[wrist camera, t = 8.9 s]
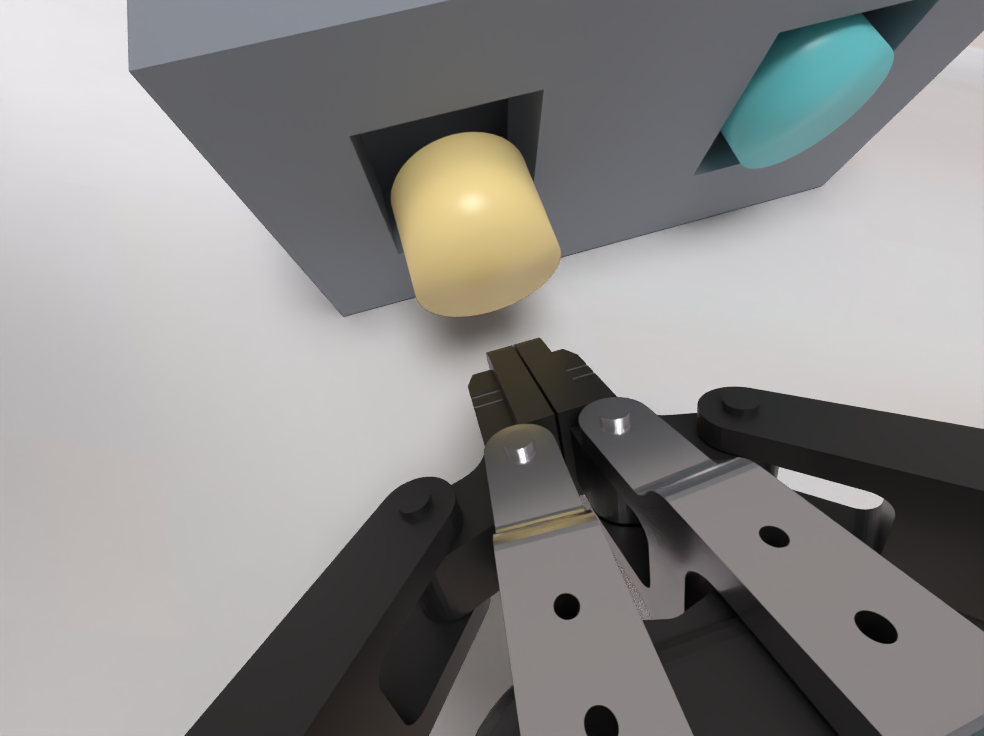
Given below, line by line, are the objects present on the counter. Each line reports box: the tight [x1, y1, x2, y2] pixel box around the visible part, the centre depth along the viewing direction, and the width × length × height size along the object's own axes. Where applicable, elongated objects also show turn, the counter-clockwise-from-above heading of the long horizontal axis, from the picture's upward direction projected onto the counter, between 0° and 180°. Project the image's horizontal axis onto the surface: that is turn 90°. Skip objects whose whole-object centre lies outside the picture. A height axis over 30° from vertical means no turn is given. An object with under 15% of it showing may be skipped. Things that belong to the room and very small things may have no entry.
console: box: [127, 0, 984, 317], centre depth 15 cm, size 8×24×11 cm, turn 107°
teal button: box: [720, 13, 894, 169], centre depth 14 cm, size 3×4×4 cm
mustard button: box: [391, 132, 561, 317], centre depth 12 cm, size 3×4×4 cm
